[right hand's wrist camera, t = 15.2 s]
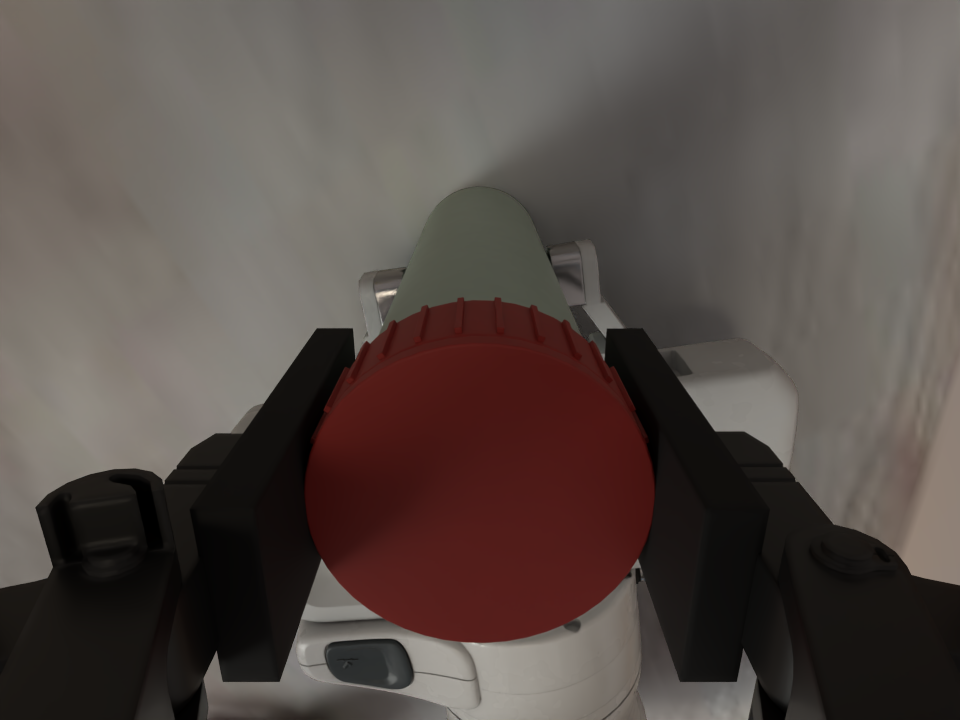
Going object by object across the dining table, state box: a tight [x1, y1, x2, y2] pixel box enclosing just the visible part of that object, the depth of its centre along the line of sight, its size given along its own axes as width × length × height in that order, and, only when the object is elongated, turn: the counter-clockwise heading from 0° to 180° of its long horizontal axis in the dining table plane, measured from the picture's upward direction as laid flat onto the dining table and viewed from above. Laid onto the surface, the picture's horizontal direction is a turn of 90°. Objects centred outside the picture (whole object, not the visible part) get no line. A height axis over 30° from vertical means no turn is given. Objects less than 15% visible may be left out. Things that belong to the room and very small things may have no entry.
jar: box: [378, 187, 581, 336], centre depth 19 cm, size 5×5×19 cm
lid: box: [304, 297, 656, 643], centre depth 11 cm, size 6×6×2 cm
